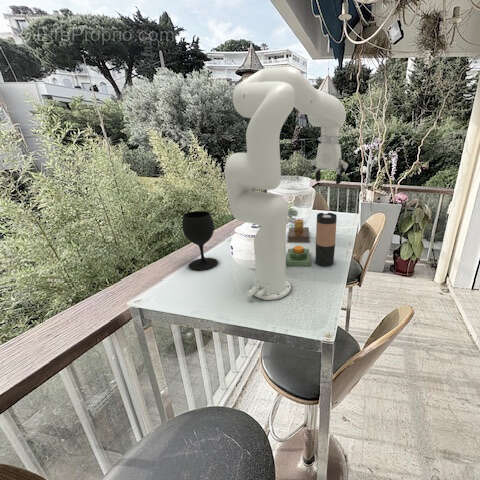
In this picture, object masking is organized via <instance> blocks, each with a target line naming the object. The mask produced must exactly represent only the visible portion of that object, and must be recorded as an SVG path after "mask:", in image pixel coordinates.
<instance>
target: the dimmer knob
mask: <svg viewBox="0 0 480 480" xmlns="http://www.w3.org/2000/svg"><path fill="white" fill-rule="evenodd" d="M294 227H295V231H297V232H301V231H303V227H304V220H303V219H300V218H298V219H294Z"/></svg>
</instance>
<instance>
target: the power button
mask: <svg viewBox="0 0 480 480" xmlns="http://www.w3.org/2000/svg"><path fill="white" fill-rule="evenodd" d="M293 248H294V252H295V253H302V252H303V251H304V248H305V247H304V246H302V245H295V246H293Z"/></svg>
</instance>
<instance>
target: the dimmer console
mask: <svg viewBox="0 0 480 480" xmlns="http://www.w3.org/2000/svg"><path fill="white" fill-rule="evenodd" d="M290 227H291V228H289V227H288V235H287V243H310V230H309V229H310V227H309V226H307V227H306V226H303V231H301V232H297V231H295V226H290Z"/></svg>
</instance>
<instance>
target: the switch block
mask: <svg viewBox="0 0 480 480" xmlns="http://www.w3.org/2000/svg"><path fill="white" fill-rule="evenodd" d="M310 254H311V253H310V248H305V247H304V251H303V252H302V253H295V252H294V247H292V248H288V249H287V253H286V267H310V266H311V256H310Z"/></svg>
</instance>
